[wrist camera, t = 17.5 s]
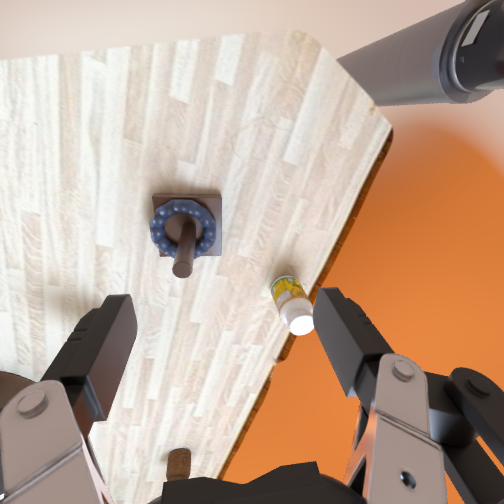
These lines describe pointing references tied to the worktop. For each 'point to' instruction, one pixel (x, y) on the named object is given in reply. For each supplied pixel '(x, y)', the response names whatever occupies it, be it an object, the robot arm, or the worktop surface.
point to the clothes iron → (11, 386)
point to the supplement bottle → (293, 304)
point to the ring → (187, 208)
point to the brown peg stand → (189, 230)
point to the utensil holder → (179, 465)
